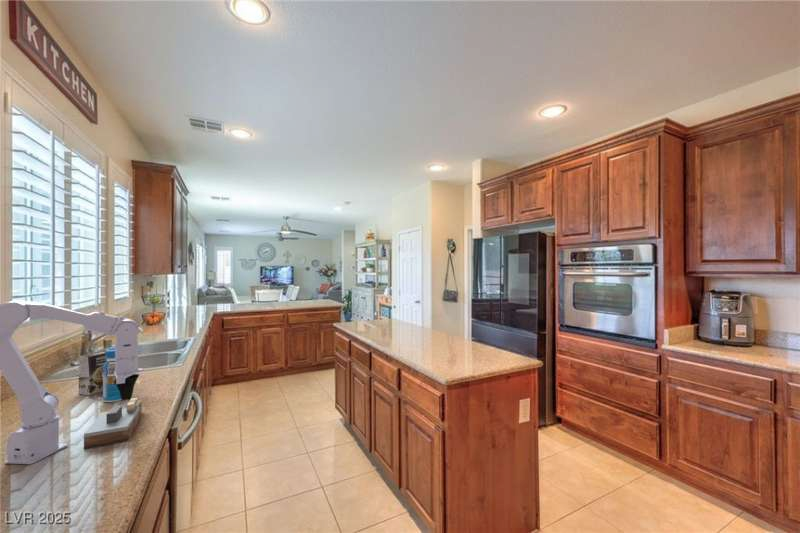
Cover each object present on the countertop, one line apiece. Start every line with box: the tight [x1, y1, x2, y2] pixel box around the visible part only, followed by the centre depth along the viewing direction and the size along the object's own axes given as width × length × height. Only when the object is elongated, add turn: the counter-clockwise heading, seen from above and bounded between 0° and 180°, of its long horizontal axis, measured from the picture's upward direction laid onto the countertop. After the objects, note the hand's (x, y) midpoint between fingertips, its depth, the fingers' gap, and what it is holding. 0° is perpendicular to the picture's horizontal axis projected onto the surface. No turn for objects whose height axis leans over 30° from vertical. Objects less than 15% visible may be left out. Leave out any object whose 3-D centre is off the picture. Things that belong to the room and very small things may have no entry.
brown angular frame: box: [83, 399, 143, 450], centre depth 109 cm, size 22×10×4 cm, turn 27°
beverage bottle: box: [102, 347, 122, 403], centre depth 133 cm, size 8×8×20 cm
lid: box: [83, 405, 140, 438], centre depth 106 cm, size 16×10×5 cm, turn 27°
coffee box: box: [77, 350, 108, 396], centre depth 141 cm, size 9×6×16 cm
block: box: [126, 397, 139, 412], centre depth 113 cm, size 6×2×2 cm, turn 27°
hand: (126, 399), depth 107 cm, fingers closed
